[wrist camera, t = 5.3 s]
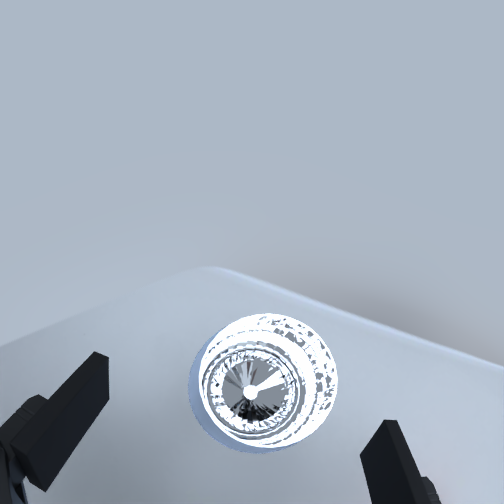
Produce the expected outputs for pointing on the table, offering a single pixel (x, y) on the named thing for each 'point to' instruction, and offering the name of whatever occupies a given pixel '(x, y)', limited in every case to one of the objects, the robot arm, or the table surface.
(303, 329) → the wineglass
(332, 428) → the table surface
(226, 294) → the table surface
